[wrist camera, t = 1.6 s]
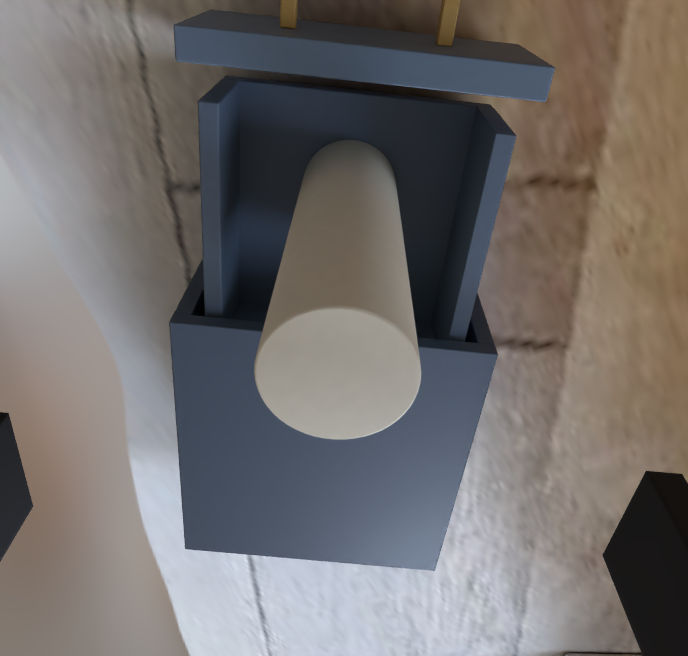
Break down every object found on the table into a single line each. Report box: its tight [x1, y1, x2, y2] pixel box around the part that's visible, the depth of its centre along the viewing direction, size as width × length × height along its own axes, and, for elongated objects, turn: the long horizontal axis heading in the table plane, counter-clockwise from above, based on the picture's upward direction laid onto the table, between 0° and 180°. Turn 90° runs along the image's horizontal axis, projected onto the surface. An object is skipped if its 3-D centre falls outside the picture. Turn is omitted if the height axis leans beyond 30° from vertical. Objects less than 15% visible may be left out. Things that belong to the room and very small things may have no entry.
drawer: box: [174, 0, 555, 342], centre depth 26 cm, size 19×13×6 cm
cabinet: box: [169, 259, 498, 571], centre depth 34 cm, size 16×15×8 cm
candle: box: [254, 140, 421, 439], centre depth 22 cm, size 4×4×15 cm
